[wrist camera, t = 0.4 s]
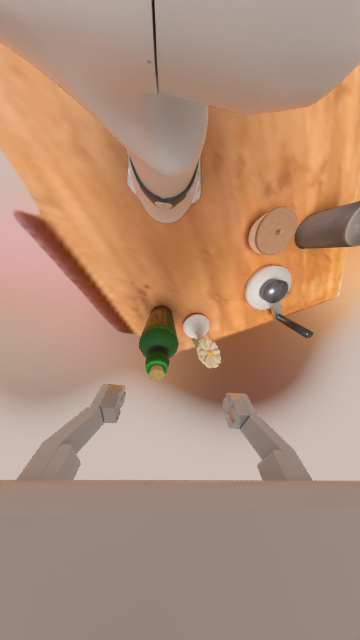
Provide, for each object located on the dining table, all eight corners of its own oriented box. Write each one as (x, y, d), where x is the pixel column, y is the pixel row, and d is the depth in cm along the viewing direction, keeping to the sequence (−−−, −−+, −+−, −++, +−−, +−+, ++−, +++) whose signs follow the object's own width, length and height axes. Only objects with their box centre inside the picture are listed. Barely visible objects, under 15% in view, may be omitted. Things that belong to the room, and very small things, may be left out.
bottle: (154, 298, 47) (141, 348, 23) (179, 309, 50) (191, 365, 26) (143, 320, 51) (122, 384, 27) (167, 330, 54) (168, 395, 30)
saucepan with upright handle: (257, 286, 45) (291, 299, 33) (279, 274, 44) (324, 283, 31) (266, 321, 53) (296, 343, 41) (285, 312, 51) (322, 331, 39)
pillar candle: (315, 248, 44) (379, 246, 31) (289, 248, 43) (343, 246, 30) (330, 212, 40) (413, 192, 26) (302, 212, 39) (372, 191, 26)
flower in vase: (213, 326, 56) (243, 375, 34) (191, 339, 58) (206, 393, 36) (198, 304, 50) (222, 345, 28) (174, 319, 52) (180, 368, 30)
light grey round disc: (252, 263, 44) (258, 263, 42) (292, 267, 46) (300, 268, 44) (238, 305, 52) (242, 308, 49) (273, 307, 54) (279, 310, 51)
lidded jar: (270, 253, 43) (294, 253, 35) (239, 255, 43) (257, 256, 35) (279, 213, 38) (310, 202, 30) (245, 215, 38) (267, 205, 30)
